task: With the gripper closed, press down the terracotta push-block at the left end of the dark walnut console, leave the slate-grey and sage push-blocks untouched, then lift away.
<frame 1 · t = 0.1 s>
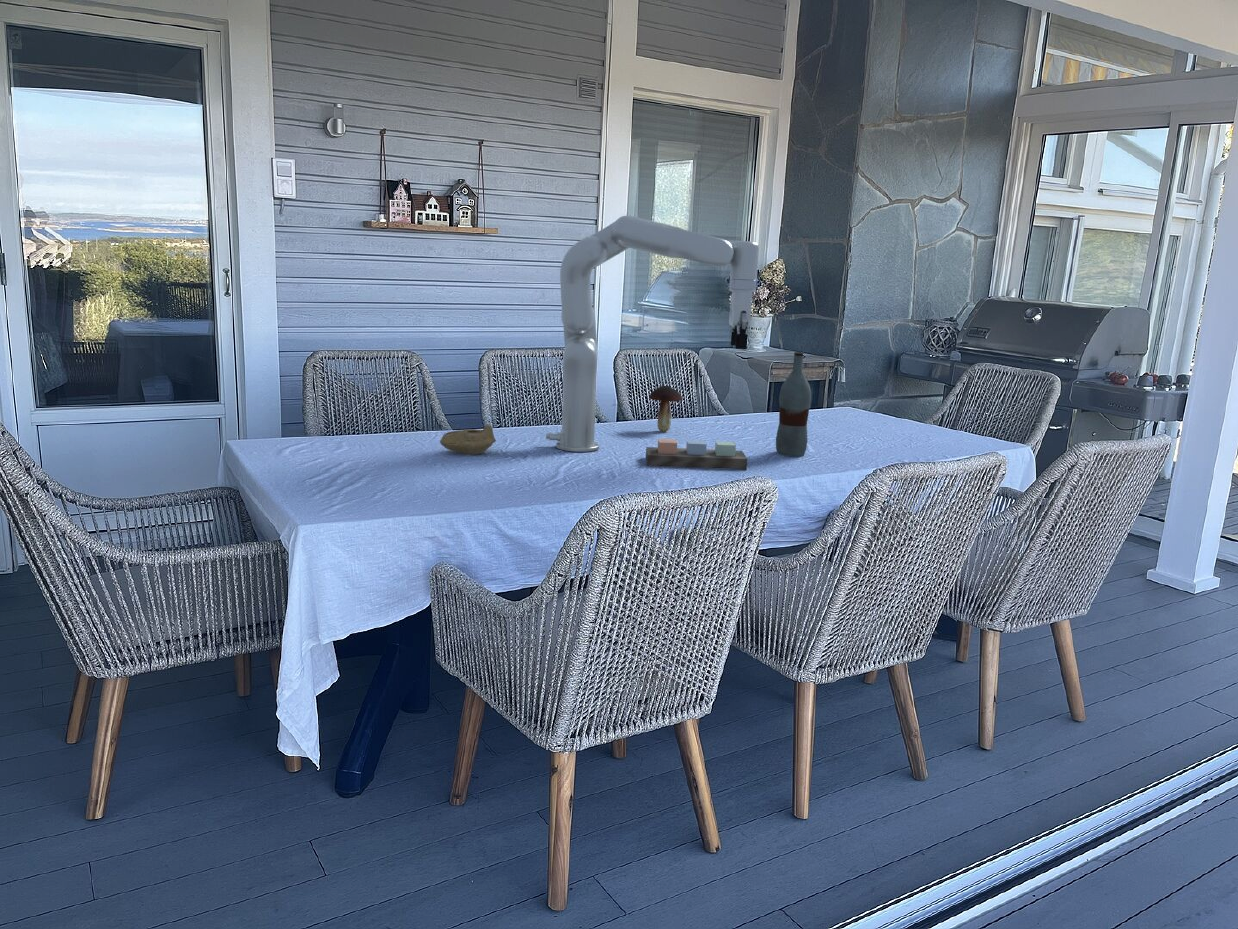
hand: (738, 347, 275), 31 cm above the table, fingers open, 9 cm apart
bottle: (790, 454, 286), on the table
decorative mushroom: (663, 432, 313), on the table
console: (695, 463, 267), on the table
oil lamp: (467, 454, 268), on the table
sage button: (725, 451, 266), point 4 cm above the table, slide at 0.0 cm
slate button: (696, 450, 266), point 4 cm above the table, slide at 0.0 cm
terracotta button: (667, 449, 266), point 4 cm above the table, slide at 0.0 cm
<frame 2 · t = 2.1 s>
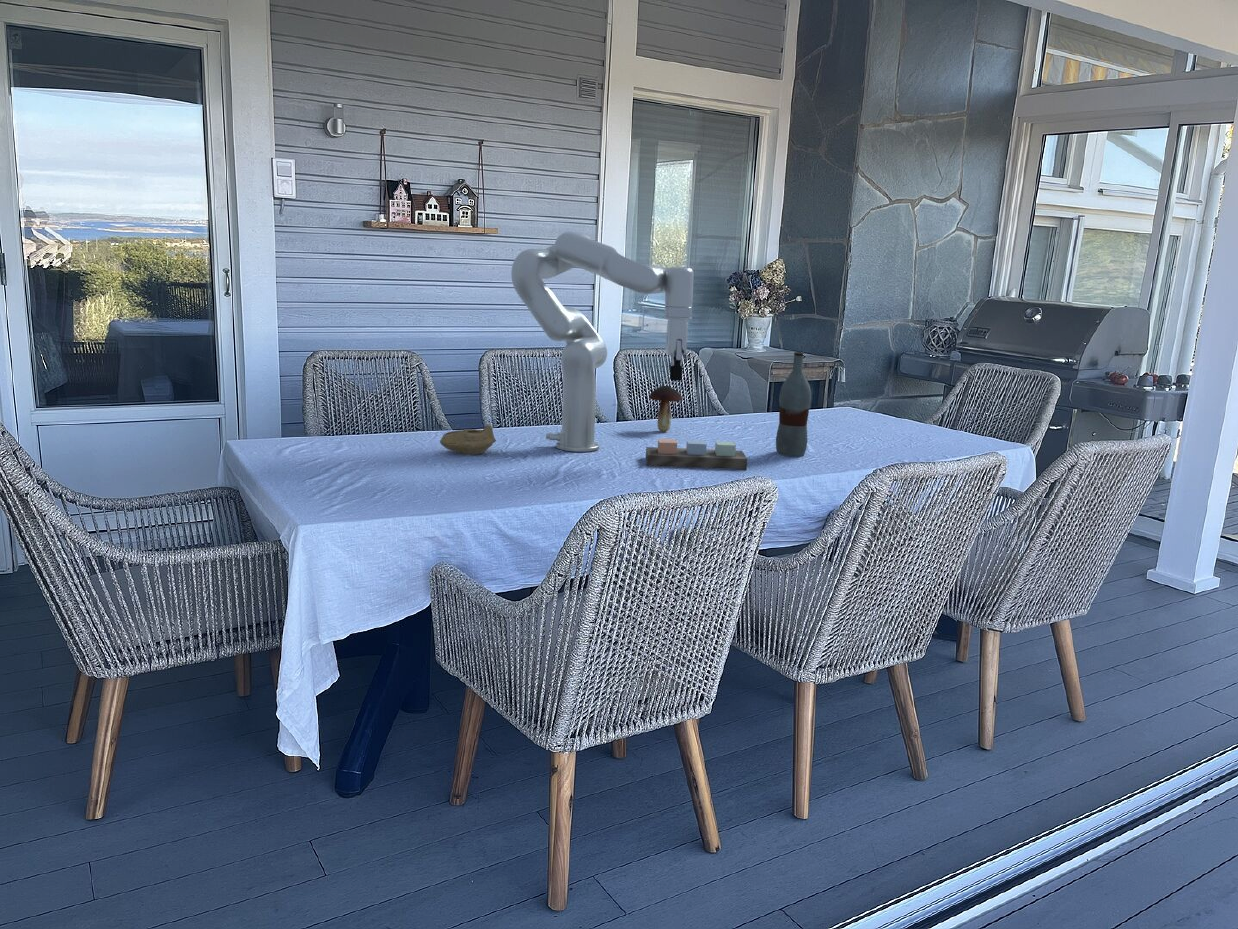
hand: (675, 380, 268), 22 cm above the table, fingers closed
nothing on the table moved.
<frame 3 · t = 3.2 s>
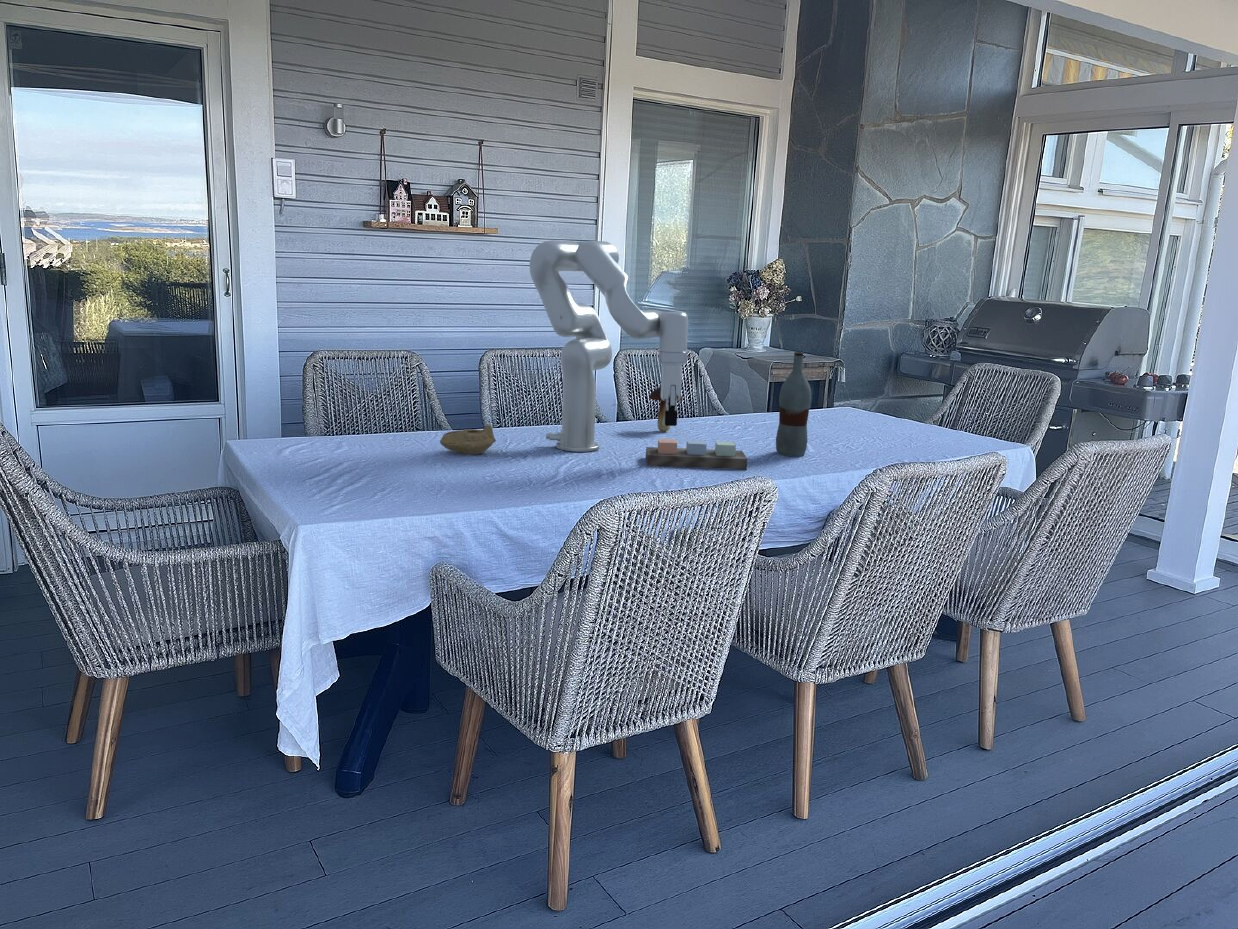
hand: (670, 425, 264), 11 cm above the table, fingers closed
nothing on the table moved.
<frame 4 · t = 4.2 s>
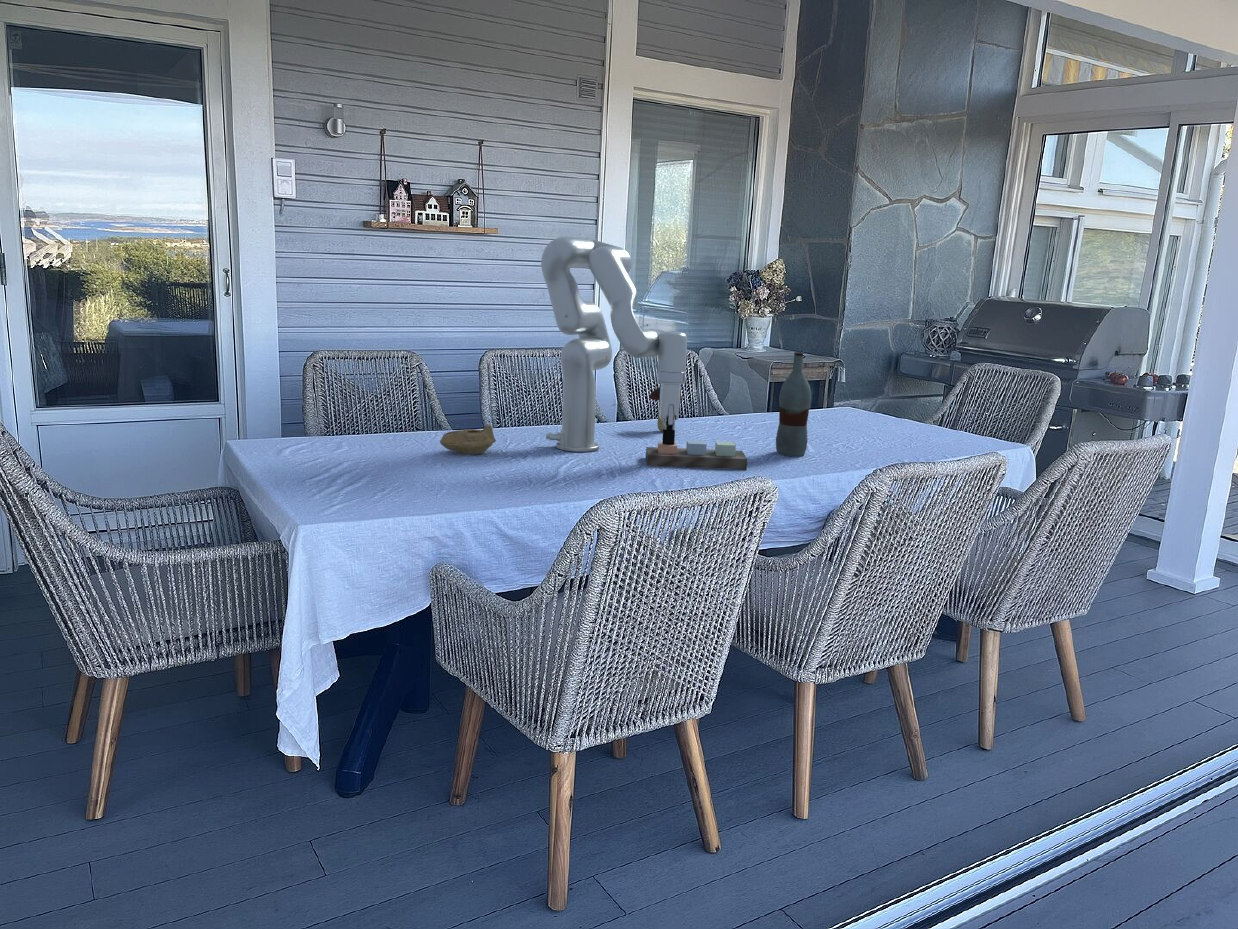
hand: (668, 443, 266), 5 cm above the table, fingers closed
terracotta button: (667, 452, 266), point 3 cm above the table, slide at 0.8 cm, touching gripper
everything else where it was.
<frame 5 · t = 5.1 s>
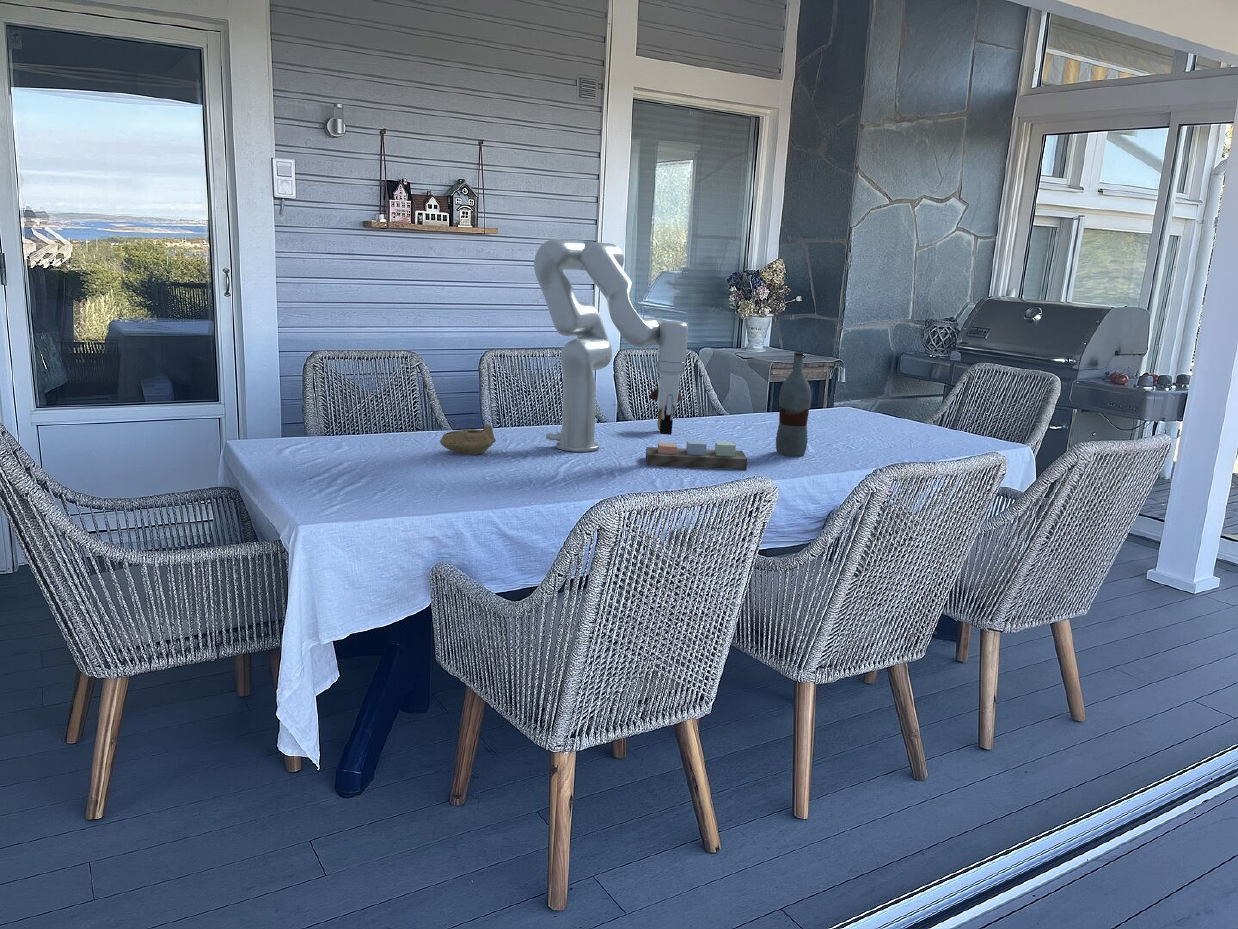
hand: (665, 433, 266), 8 cm above the table, fingers closed
terracotta button: (666, 452, 266), point 3 cm above the table, slide at 1.1 cm
everything else where it was.
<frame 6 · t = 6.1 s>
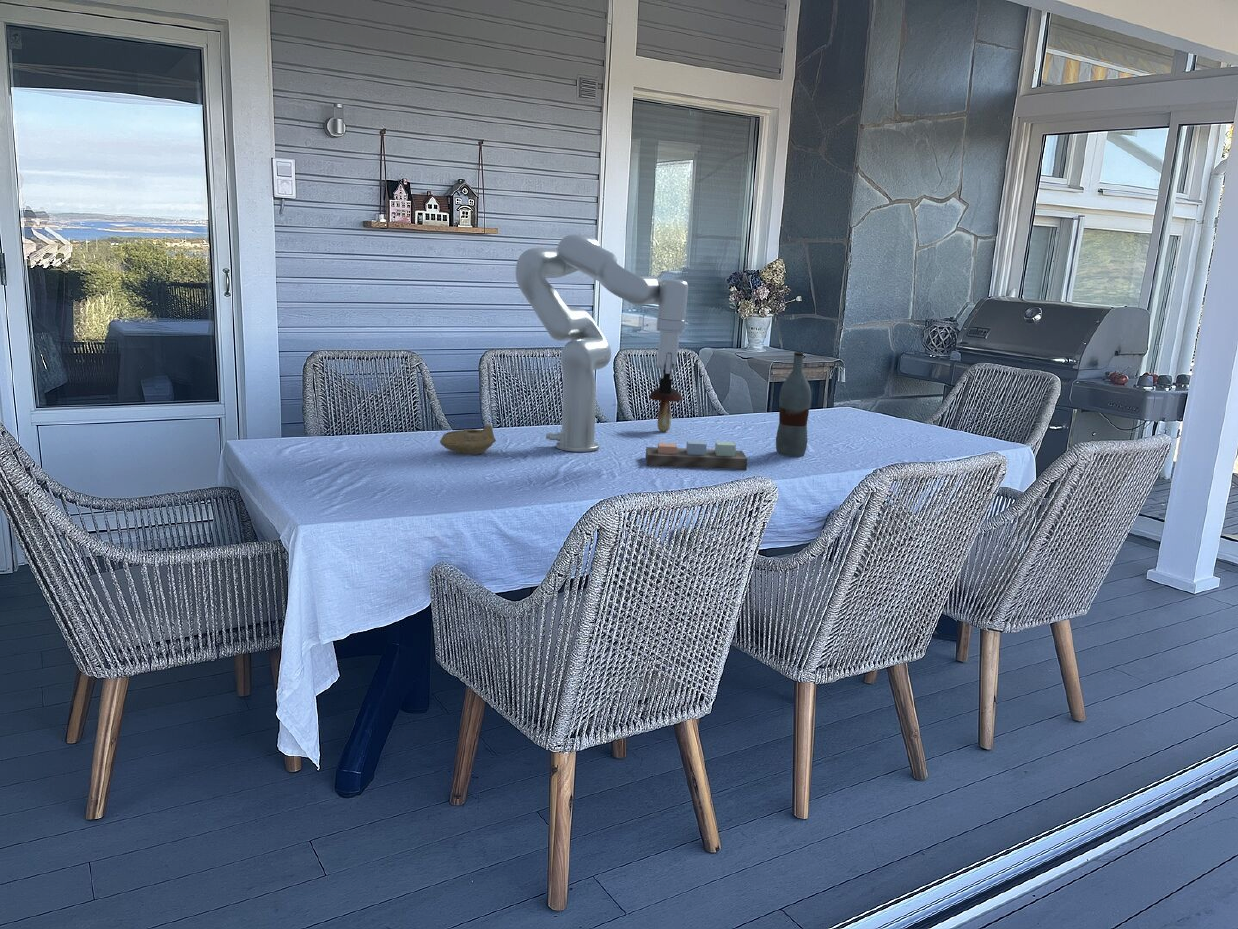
hand: (664, 393, 265), 19 cm above the table, fingers closed
nothing on the table moved.
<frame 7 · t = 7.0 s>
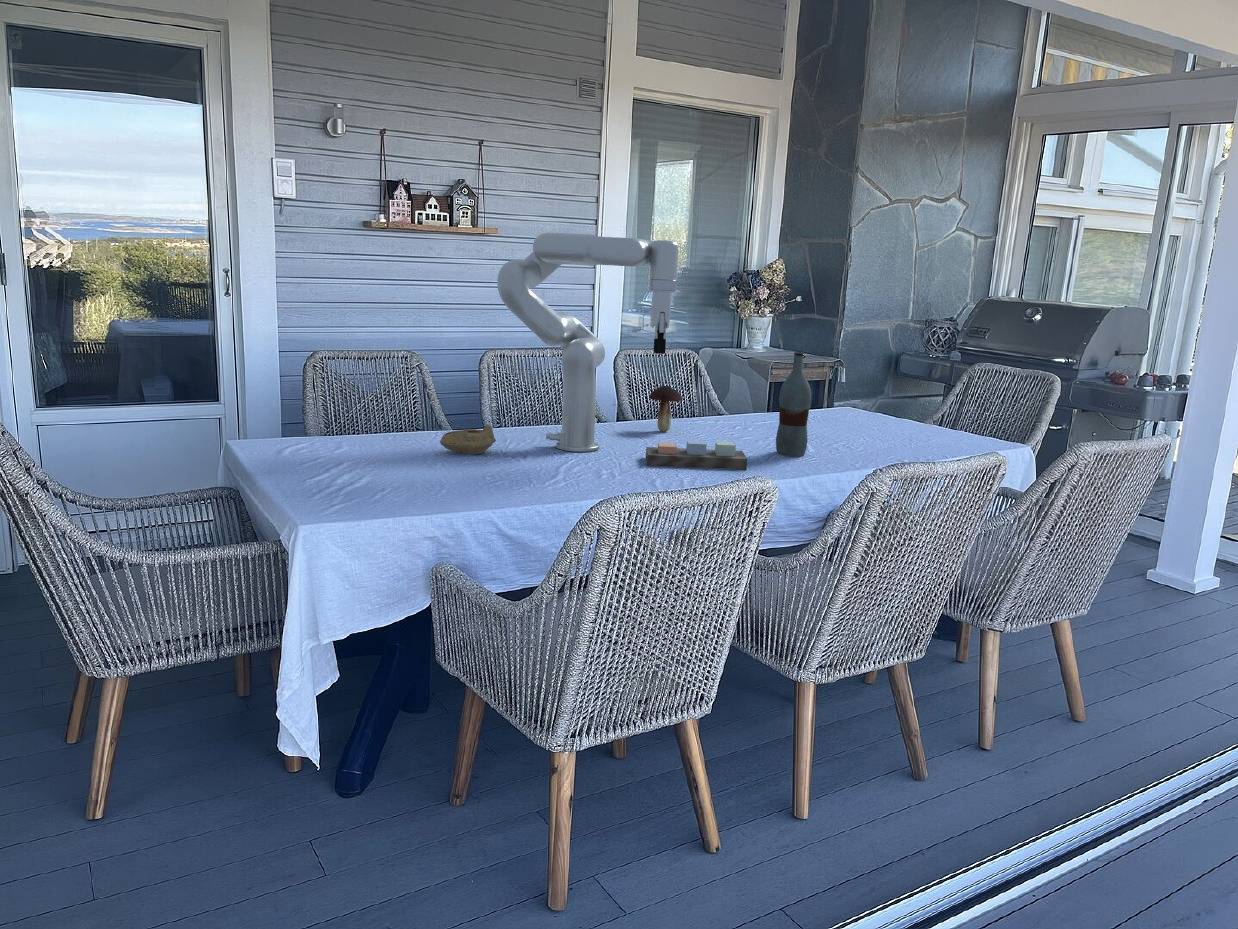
hand: (659, 353, 269), 29 cm above the table, fingers closed
nothing on the table moved.
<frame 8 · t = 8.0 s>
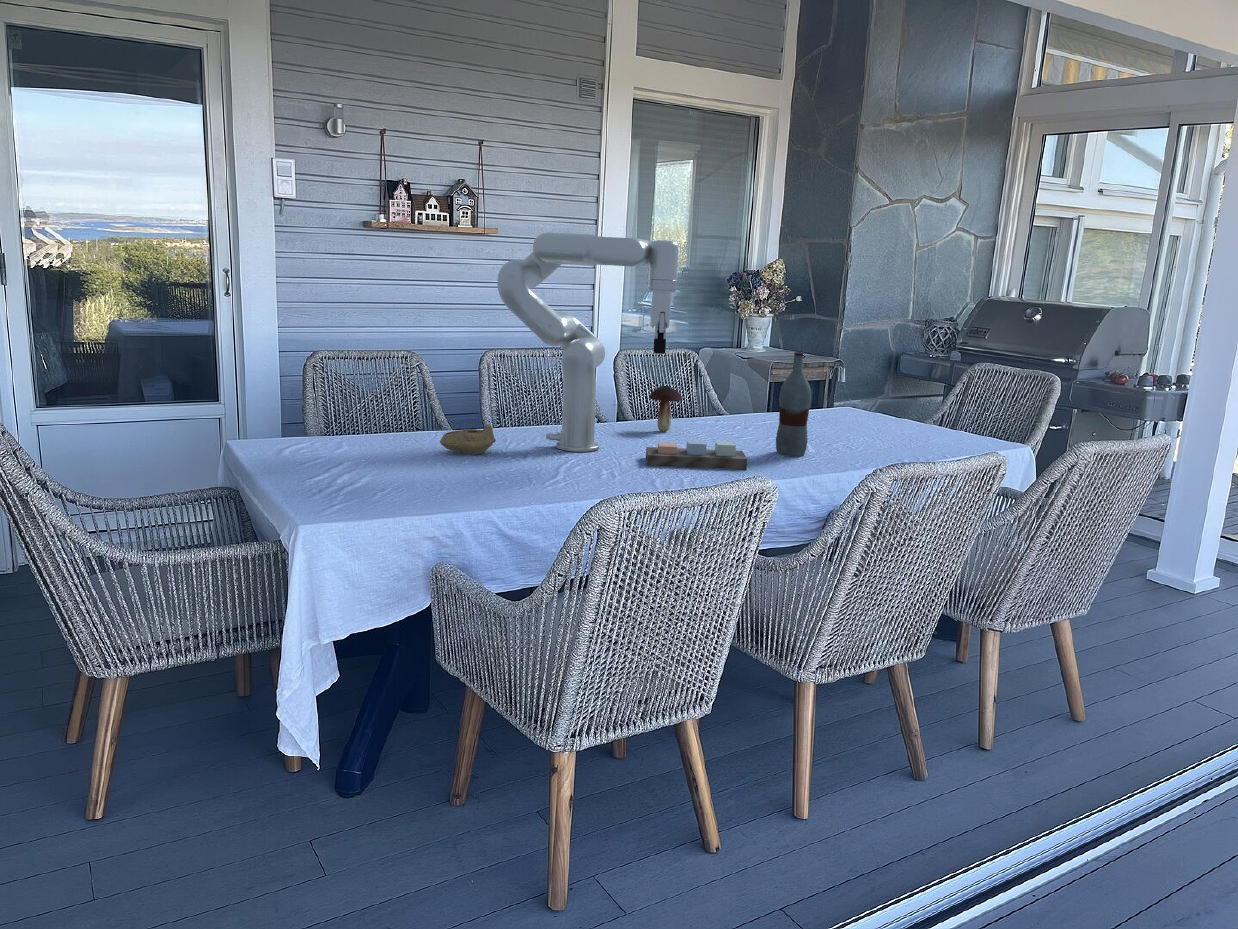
hand: (659, 353, 269), 29 cm above the table, fingers closed
nothing on the table moved.
at the end: terracotta button slide at 1.1 cm; slate button slide at 0.0 cm; sage button slide at 0.0 cm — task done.
